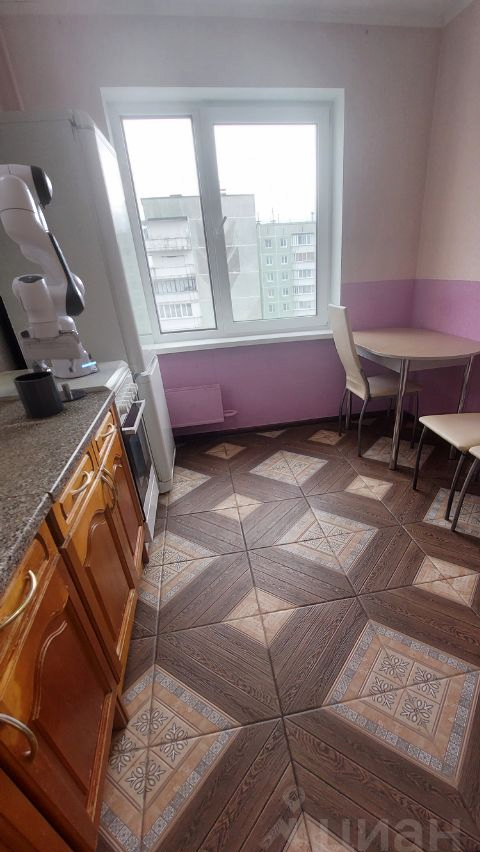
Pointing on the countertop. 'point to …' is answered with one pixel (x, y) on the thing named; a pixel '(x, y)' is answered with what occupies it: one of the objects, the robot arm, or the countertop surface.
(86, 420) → the countertop surface
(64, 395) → the lid
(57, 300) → the robot arm
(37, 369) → the salt shaker
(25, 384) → the canister
